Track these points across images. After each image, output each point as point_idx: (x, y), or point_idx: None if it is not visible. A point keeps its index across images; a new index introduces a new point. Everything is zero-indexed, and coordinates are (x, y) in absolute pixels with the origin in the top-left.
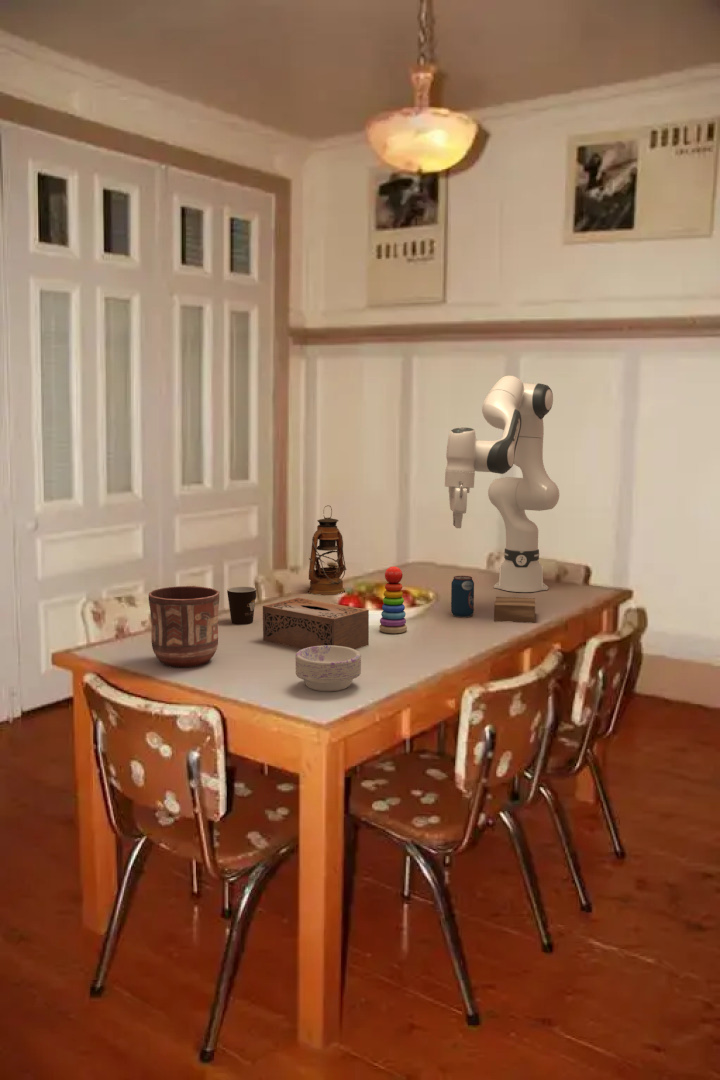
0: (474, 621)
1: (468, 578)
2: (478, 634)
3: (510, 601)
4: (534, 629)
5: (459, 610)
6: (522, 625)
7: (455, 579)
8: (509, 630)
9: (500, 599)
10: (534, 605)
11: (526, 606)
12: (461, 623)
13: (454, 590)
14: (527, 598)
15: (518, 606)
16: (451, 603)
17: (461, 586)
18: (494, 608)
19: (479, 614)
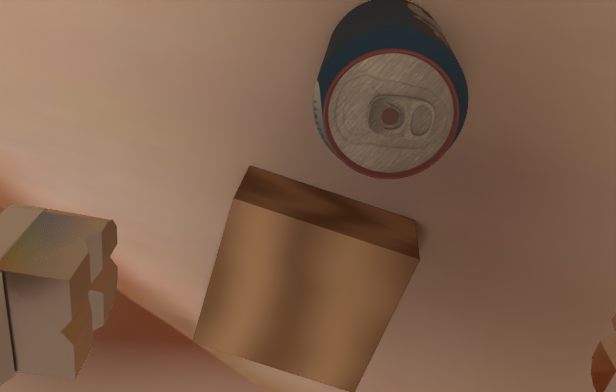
0: (253, 80)
1: (378, 151)
2: (5, 30)
3: (302, 286)
4: None
5: (333, 33)
6: (170, 246)
7: (367, 54)
8: (86, 176)
9: (354, 259)
10: (210, 345)
11: (201, 314)
12: (216, 6)
13: (352, 28)
14: (355, 366)
15: (208, 286)
16: (389, 4)
17: (318, 75)
18: (237, 191)
19: None
